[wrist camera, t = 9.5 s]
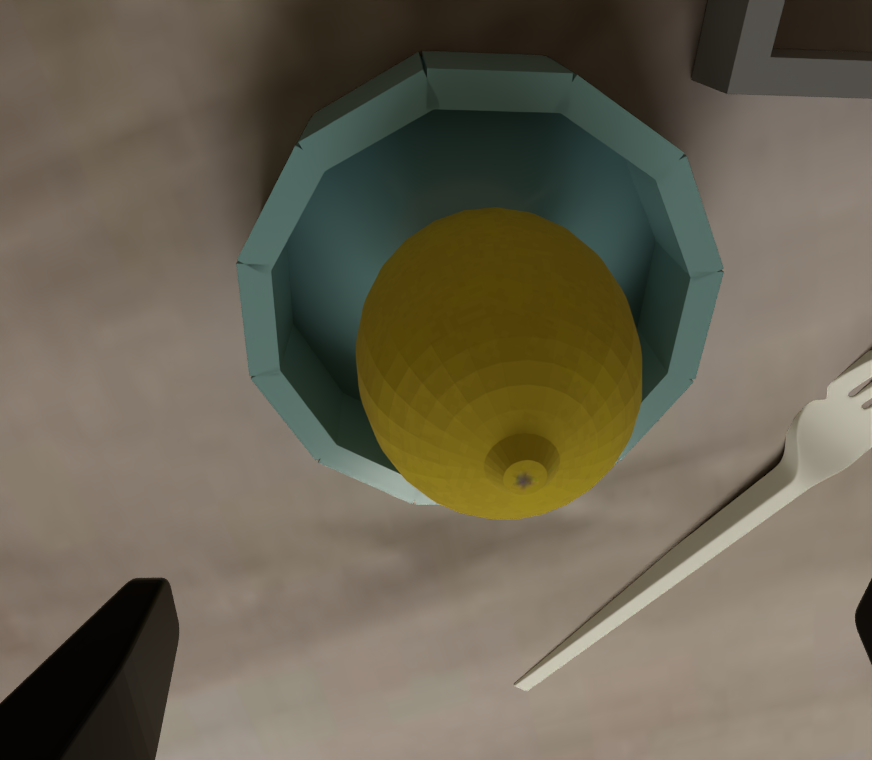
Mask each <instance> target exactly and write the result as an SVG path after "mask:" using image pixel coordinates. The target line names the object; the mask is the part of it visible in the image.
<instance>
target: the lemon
mask: <svg viewBox="0 0 872 760" xmlns="http://www.w3.org/2000/svg"><path fill="white" fill-rule="evenodd" d="M356 363H357V374H358V385H359V392H360V397H361V400H362V404H363V407H364V409H365V412H366V414H367V417H368V419H369V422H370V424H371V427H372V429H373V432H374V434H375V437H376V439H377V441H378V443H379V445H380V447H381V449H382V451H383V452H384V453H385V455H386V456H387V457H388V458H389V460H390V461H391V462H392V464H393V465H394V466H395V467H396V469H397V470H398V471H399V473H400V474H401V475H402V476H403V478H404V479H405V480H406V481H407V482H408V483H410V484H411V485H412V486H414V487H415V488H416V489H418V490H419V491H420V492H422V493H423V494H424V495H426V496H427V497H428V498H430V499H431V500H433V501H434V502H436V503H438V504H440V505H443V506H445V507H447V508H450V509H452V510H454V511H457V512H459V513H463V514H468V515H473V516H478V517H483V518H488V519H520V518H526V517H531V516H536V515H541V514H544V513H547V512H549V511H552V510H554V509H557V508H559V507H562V506H564V505H567V504H568V503H570V502H571V501H573V500H575V499H576V498H578V497H579V496H581V495H582V494H584V493H585V492H587V491H589V490H590V489H591V488H593V487H594V486H595V485H596V484H597V483H598V482H599V481H600V480H601V479H602V478H603V477H604V476H605V475H606V474H607V473H608V472H609V471H610V470H611V469H612V468H613V466H614V464H615V463H616V461H617V460H618V458H619V456H620V455H621V453H622V452H623V450H624V448H625V447H626V445H627V443H628V441H629V440H630V438H631V436H632V433H633V429H634V426H635V423H636V420H637V416H638V413H639V410H640V405H641V401H642V351H641V345H640V340H639V336H638V333H637V330H636V326H635V323H634V320H633V316H632V313H631V310H630V307H629V304H628V301H627V298H626V296H625V294H624V292H623V291H622V289H621V287H620V286H619V284H618V283H617V281H616V280H615V278H614V277H613V275H612V274H611V272H610V271H609V269H608V268H607V266H606V265H605V263H604V262H603V260H602V259H601V258H600V257H599V255H598V254H597V253H595V252H594V251H593V250H592V249H591V248H590V247H588V246H587V245H586V244H585V243H584V242H582V241H581V240H580V239H579V238H577V237H576V236H575V235H574V234H573V233H571V232H570V231H569V230H568V229H566V228H564V227H563V226H561V225H558V224H556V223H554V222H552V221H549V220H547V219H545V218H542V217H540V216H538V215H536V214H533V213H530V212H524V211H518V210H512V209H505V208H499V207H491V208H481V209H471V210H463V211H460V212H458V213H455V214H452V215H449V216H446V217H444V218H441V219H438V220H435V221H433V222H432V223H430V224H429V225H427V226H426V227H424V228H423V229H421V230H420V231H418V232H417V233H415V234H414V235H412V236H411V237H409V238H408V239H406V240H405V241H404V242H403V243H402V245H401V246H400V247H399V248H398V249H397V250H396V251H395V252H394V253H393V255H392V256H391V257H390V258H389V259H388V260H387V261H386V262H385V263H384V265H383V266H382V268H381V269H380V271H379V273H378V275H377V277H376V279H375V281H374V283H373V285H372V287H371V289H370V291H369V293H368V295H367V297H366V299H365V302H364V305H363V309H362V314H361V319H360V324H359V329H358V334H357V340H356Z"/></svg>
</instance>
